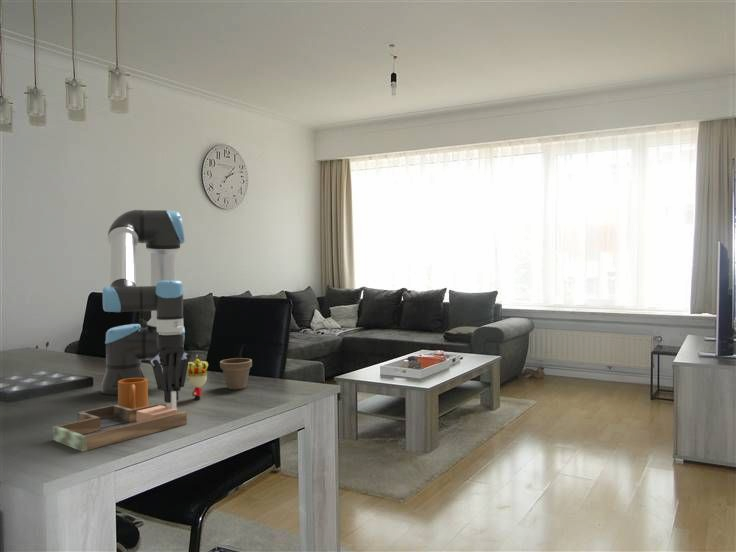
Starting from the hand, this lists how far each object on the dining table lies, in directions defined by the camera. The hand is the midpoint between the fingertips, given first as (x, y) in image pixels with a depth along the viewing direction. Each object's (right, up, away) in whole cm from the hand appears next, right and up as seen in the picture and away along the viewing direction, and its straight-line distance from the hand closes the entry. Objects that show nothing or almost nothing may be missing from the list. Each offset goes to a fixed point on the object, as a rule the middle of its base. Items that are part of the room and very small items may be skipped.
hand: (171, 412), depth 175 cm
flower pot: (+10, -1, +42) cm, 43 cm away
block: (-3, -2, -4) cm, 5 cm away
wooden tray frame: (-13, -2, -9) cm, 16 cm away
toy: (0, -1, +25) cm, 25 cm away
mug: (-16, -2, +12) cm, 20 cm away
